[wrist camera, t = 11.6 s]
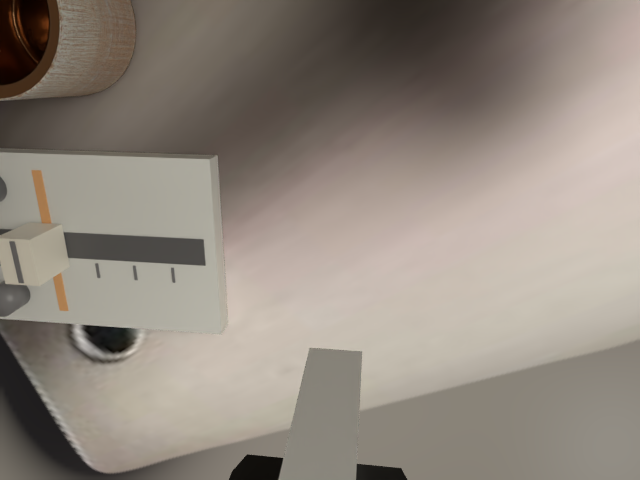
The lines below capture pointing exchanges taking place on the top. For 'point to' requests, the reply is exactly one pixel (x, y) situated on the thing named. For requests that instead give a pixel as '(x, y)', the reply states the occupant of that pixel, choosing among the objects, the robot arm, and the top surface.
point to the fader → (33, 254)
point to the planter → (63, 46)
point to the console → (120, 238)
